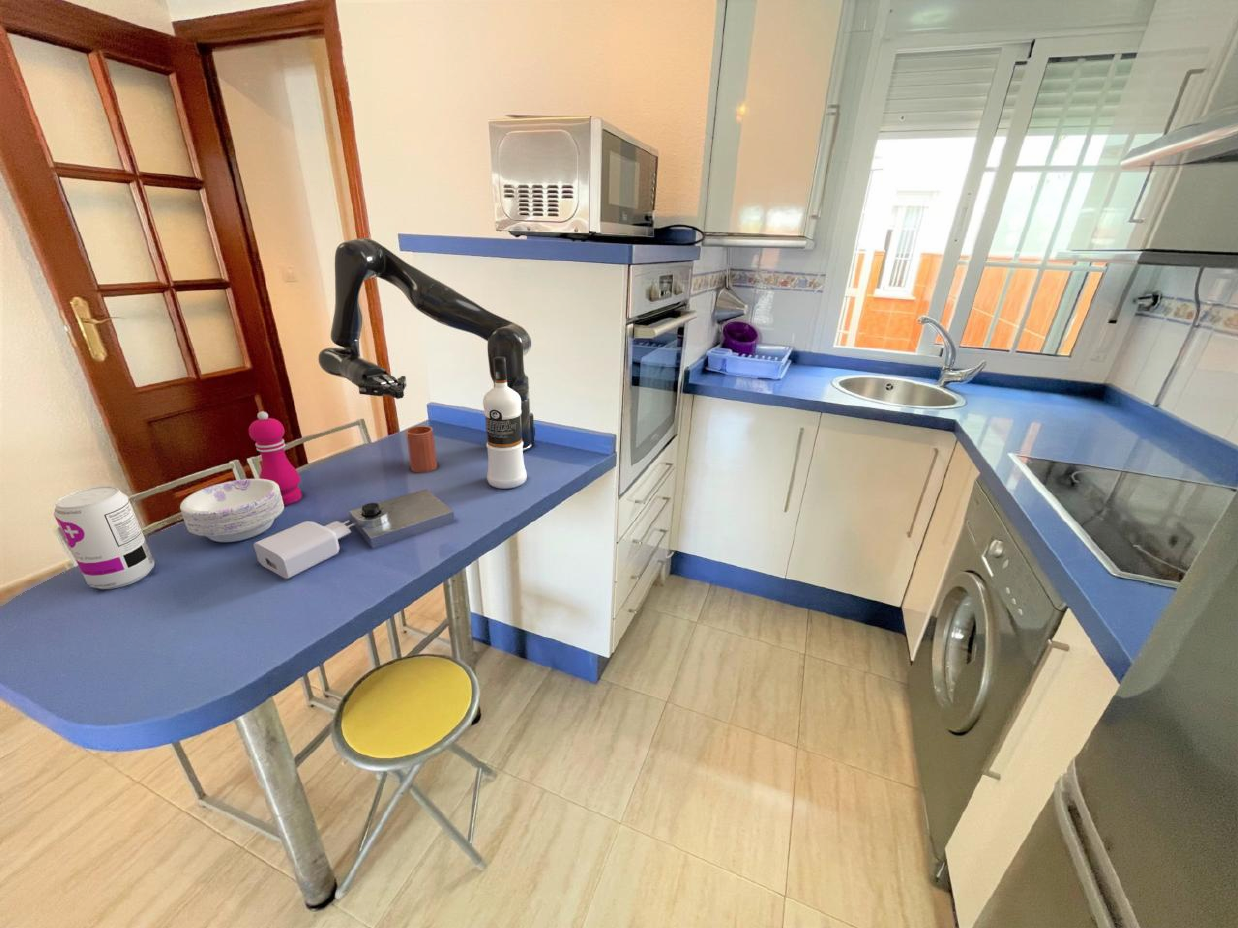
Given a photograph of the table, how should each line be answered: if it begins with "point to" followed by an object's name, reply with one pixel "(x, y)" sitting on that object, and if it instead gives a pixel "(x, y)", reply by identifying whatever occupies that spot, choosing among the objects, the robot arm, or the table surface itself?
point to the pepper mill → (275, 457)
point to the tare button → (370, 510)
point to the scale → (402, 518)
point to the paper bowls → (233, 509)
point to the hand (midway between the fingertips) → (400, 394)
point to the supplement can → (104, 536)
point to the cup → (421, 448)
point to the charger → (300, 547)
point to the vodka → (504, 432)
